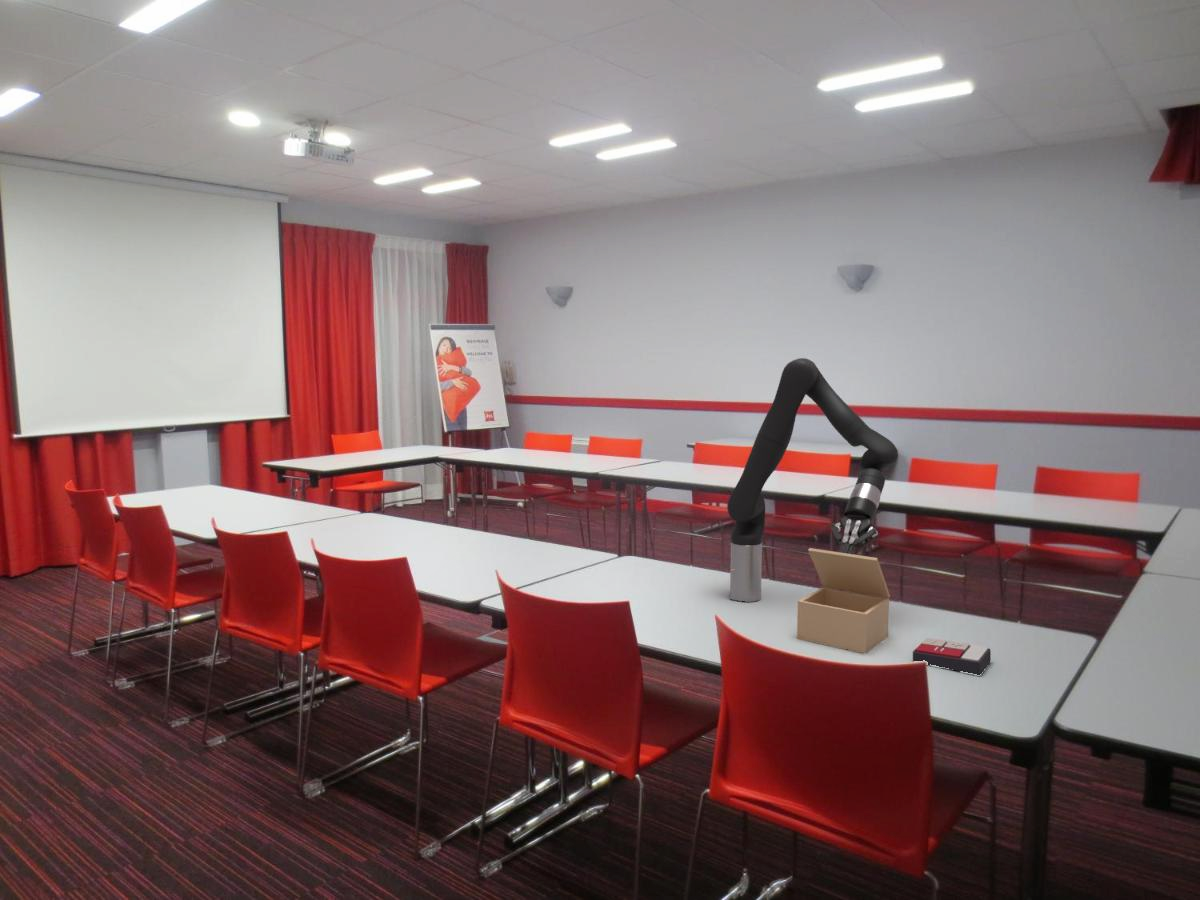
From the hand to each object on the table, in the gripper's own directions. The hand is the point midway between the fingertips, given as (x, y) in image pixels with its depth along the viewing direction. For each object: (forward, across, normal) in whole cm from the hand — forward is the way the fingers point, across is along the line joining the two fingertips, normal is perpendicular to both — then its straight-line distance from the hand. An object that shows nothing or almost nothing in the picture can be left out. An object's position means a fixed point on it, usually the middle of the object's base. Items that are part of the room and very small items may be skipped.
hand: (844, 557), depth 207 cm
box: (+15, 0, +15) cm, 21 cm away
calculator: (+16, +27, +15) cm, 35 cm away
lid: (+1, 0, +6) cm, 6 cm away
